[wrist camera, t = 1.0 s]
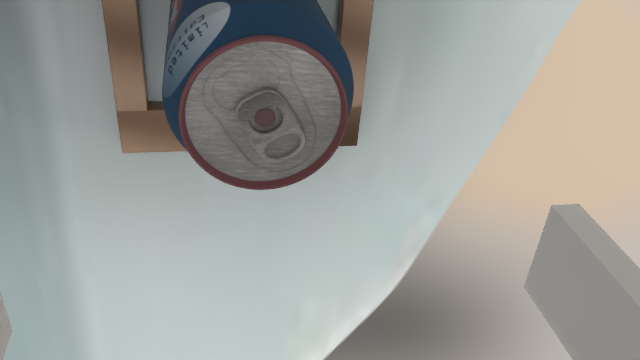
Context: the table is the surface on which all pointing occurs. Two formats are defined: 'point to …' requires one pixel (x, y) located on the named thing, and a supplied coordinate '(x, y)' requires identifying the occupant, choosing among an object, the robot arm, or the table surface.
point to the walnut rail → (149, 117)
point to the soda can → (256, 88)
